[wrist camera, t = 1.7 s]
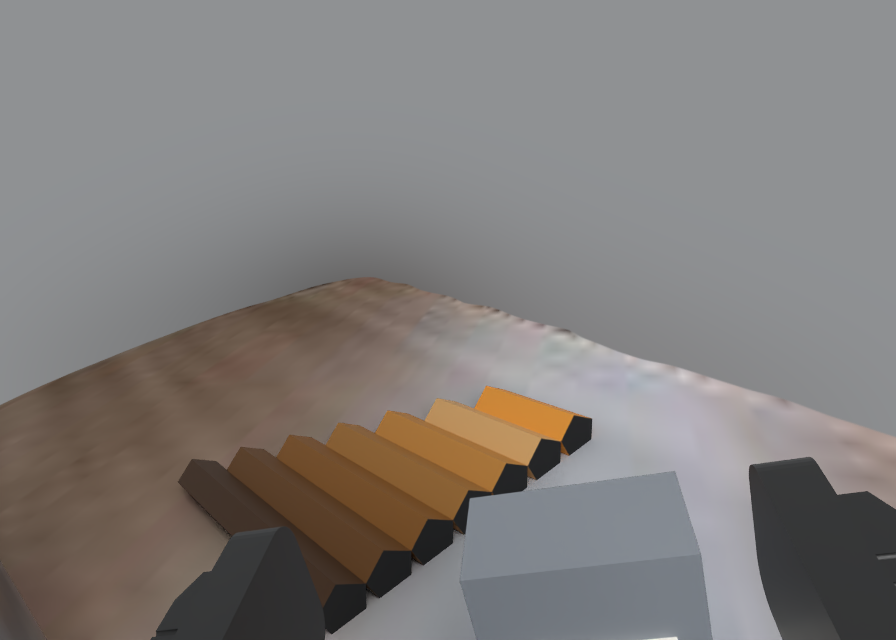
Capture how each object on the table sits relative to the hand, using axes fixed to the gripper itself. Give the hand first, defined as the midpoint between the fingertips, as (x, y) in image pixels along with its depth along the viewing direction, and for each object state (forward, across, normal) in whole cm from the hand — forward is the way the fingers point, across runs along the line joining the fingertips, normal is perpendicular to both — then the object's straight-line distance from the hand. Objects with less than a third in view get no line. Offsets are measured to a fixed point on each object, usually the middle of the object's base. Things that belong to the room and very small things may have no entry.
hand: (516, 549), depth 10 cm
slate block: (+11, 0, +24) cm, 26 cm away
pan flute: (+41, +17, +25) cm, 51 cm away
